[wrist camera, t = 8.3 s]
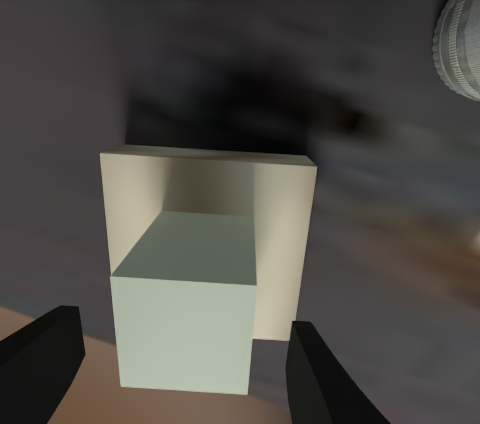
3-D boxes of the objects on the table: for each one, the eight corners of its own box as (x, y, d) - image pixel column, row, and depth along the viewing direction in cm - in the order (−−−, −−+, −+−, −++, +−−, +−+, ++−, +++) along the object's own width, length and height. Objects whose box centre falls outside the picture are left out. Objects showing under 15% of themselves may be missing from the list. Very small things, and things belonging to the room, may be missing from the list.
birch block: (305, 155, 17) (317, 166, 14) (286, 307, 20) (292, 341, 18) (124, 144, 17) (99, 153, 14) (134, 298, 20) (116, 329, 18)
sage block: (253, 216, 15) (257, 285, 9) (247, 295, 17) (247, 394, 11) (161, 210, 15) (110, 276, 10) (163, 289, 17) (120, 386, 11)
